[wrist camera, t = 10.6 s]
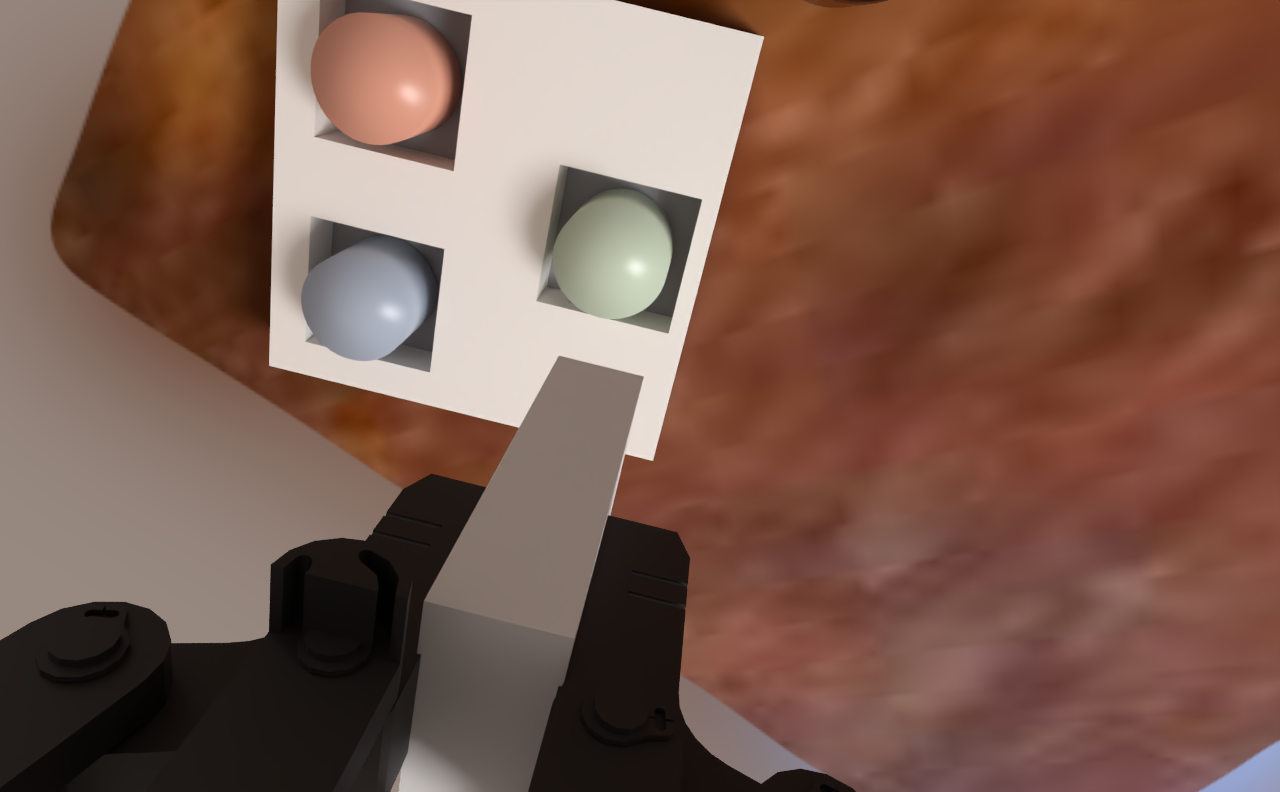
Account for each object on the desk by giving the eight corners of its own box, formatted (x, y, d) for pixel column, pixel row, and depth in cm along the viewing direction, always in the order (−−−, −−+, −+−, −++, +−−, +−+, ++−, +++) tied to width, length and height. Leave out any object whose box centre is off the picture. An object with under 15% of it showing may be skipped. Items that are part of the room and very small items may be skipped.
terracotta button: (357, 2, 35) (313, -2, 31) (468, 30, 35) (437, 29, 31) (349, 120, 37) (308, 129, 33) (454, 146, 37) (423, 157, 33)
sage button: (580, 176, 37) (563, 192, 33) (685, 202, 37) (680, 220, 33) (561, 279, 39) (543, 303, 35) (660, 303, 39) (653, 330, 35)
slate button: (343, 225, 39) (303, 244, 36) (442, 249, 39) (412, 271, 36) (337, 319, 41) (298, 346, 38) (431, 342, 41) (402, 372, 38)
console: (319, -72, 35) (279, -82, 32) (761, 36, 35) (764, 36, 32) (302, 342, 44) (269, 365, 41) (658, 430, 44) (652, 460, 40)
